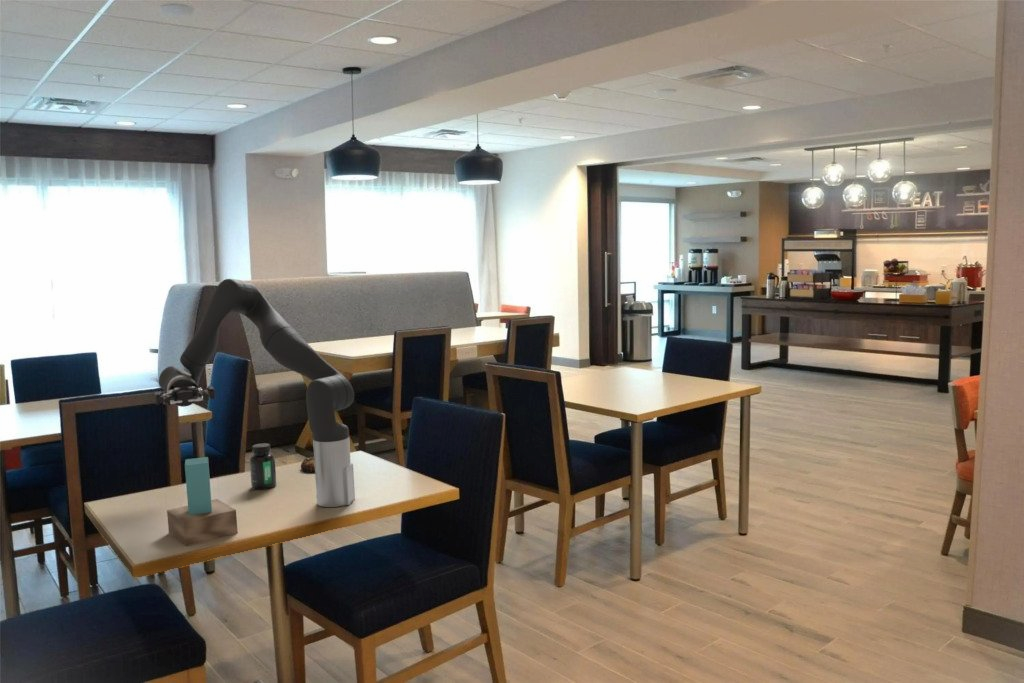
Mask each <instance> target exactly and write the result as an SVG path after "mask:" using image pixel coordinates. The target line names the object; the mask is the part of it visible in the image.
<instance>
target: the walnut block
mask: <svg viewBox="0 0 1024 683" xmlns="http://www.w3.org/2000/svg"><path fill="white" fill-rule="evenodd" d="M211 502H212V512H209V513H201V514H193V515H189V512H188V505H185V506H180V507H176V508H171V509H167V510H166V513H167V526H168V534H169V535H171V537H173V538H175V539H176V540H177V541H179V542H180V544H183V546H185V547H188V546H192V545H196V544H199V543H200V544H201V543H204V542H208V541H211V540H215V539H220V538H224V537H228V536H231V535H234V534H235V533H236V534H238V521H237V518H238V517H237V509H236V508H233V507H232V506H230V505H229V504H226V503H225V502H223V501H222V500H219V499H218V498H215V499H211Z"/></svg>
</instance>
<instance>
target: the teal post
mask: <svg viewBox="0 0 1024 683" xmlns="http://www.w3.org/2000/svg"><path fill="white" fill-rule="evenodd" d="M184 461H185V462H184V472H185V484H186V497H187V506H188V512H189V515H193V514H201V513H209V512H212V502H211V500H212V492H211V478H210V467H209V466H210V465H209V457H208V456H203V457H196V458H187V459H185V460H184Z"/></svg>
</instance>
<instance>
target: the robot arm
mask: <svg viewBox="0 0 1024 683" xmlns="http://www.w3.org/2000/svg"><path fill="white" fill-rule="evenodd" d="M230 313H234V314H241V315H243V316H245V317H247V319H249V320H250V321H251V322H252V324H254V325H255V326H256V329H258V332H259V338H260V342H261V345H262V347H263V349H265V350H266V352H267V353H268V354H269V355H270V356H271V357H272V358H273V359H274V361H276V363H278V364H279V365H281V366H282V367H284V368H285V369H286V368H287V370H290V371H293V372H294V373H297V374H299V375H301V376H304V377H306V378H307V379H309V380H310V382H309V384H308V385H307V387H306V394H305V396H306V397H305V398H306V399H305V401H306V409H307V417H308V418H307V419H308V426H309V429H310V432H311V433H312V444H313V445H312V446H313V455H314V463H315V473H314V477H315V490H316V491H315V492H316V505H317V506H319V507H324V508H336V507H341V506H343V507H344V506H350V505H351V504H352V502H353V501H354V500H355V499H356V492H355V488H356V487H355V473H354V463H351V448H350V444H351V443H350V430H349V427H348V425H346V424H343V423H339V422H337V420H336V414H335V412H338V411H342V410H345V409H347V408H349V407H350V406H351V405H352V404H353V403H354V400H355V391H354V388H353V386H352V384H351V382H350V381H349V380H348V378H347V377H345V376H344V375H343V374H342V373H341V372H339V370H337V369H336V368H335V367H333V366H332V365H331V364H330V363H328V361H326V360H325V359H324V358H323V357H322V356H321V355H320V354H319V353H318V352H317V351H316V350H314V349H313V347H311V345H309V343H308V342H307V341H305V339H304V338H303V337H302V336H301V334H300V333H299V332H298V331H297V330H296V329H295V328H293V326H292V325H290V324H289V323H288V322H287V321H286V319H284V318H283V316H281V314H280V313H279V312H278V311H276V310H275V308H274V307H273V306H272V305H271V303H270V302H269V301H268V299H267V298H266V297H265V296H264V294H263V293H262V291H261V290H260V289H259V288H258V287H257V285H255V283H252V282H250V281H247V280H240V279H235V278H226V279H223V280H222V281H221V282H219V284H218V285H217V286H216V288H215V290H214V293H213V294H212V296H211V298H210V302H209V303H208V306H207V308H206V310H205V313H204V314H203V317H202V320H201V322H200V324H199V327H198V329H197V330H196V331H195V334H194V336H193V337H192V338H191V340H190V341H189V343H188V345H187V346H186V348H185V349H184V351H183V352H182V354H181V355H180V357H179V362H180V363H181V365H182V366H183V367H184V368H185V369H187V370H188V371H185V370H183V369H181V368H180V367H177V366H174V365H169V366H167V367H165V368H164V369H163V370H162V371H161V373H160V374H159V378H158V385H159V387H160V389H162V390H164V391H165V392H166V393H163V391H161V390H160V391H159V390H157V391H155V393H154V398H155V400H154V401H155V405H158V406H159V405H161V404H162V403H163V405H167V407H168V406H171V405H175V406H178V407H180V408H181V407H182V408H184V407H189V406H192V405H193V404H194V403H195V402H201V401H203V402H204V403H205V402H207V401H209V400H210V399H211V400H214V399H216V397H217V396H216V388H214V387H213V386H211V385H208V386H207V387H205V389H203V387H199V384H200V379H201V376H202V374H203V371H204V369H205V367H206V365H207V364H208V363H209V362H210V360H211V358H212V356H213V355H214V354H215V353H216V350H217V348H218V343H219V333H220V332H219V331H220V327H221V324H222V322H223V321H224V320H225V318H226V317H227V316H228V315H229V314H230ZM189 372H190V373H189Z"/></svg>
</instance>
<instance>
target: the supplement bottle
mask: <svg viewBox="0 0 1024 683" xmlns="http://www.w3.org/2000/svg"><path fill="white" fill-rule="evenodd" d="M251 448H252V450H251V452H252V453H253V454H252V455H251V456H250V457H249V471H250V485H251V489H253V490H256V491H257V490H258V491H259V490H260V491H264V490H269V489H272V488H275V487H276V486H277V472H276V471H277V470H276V459H275V458H276V456H275V455H274V454H273V453H272V452H271V451H272V449H271V444H270V443H266V442H265V443H263V442H262V443H257V444H254V445H252V447H251Z"/></svg>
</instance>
